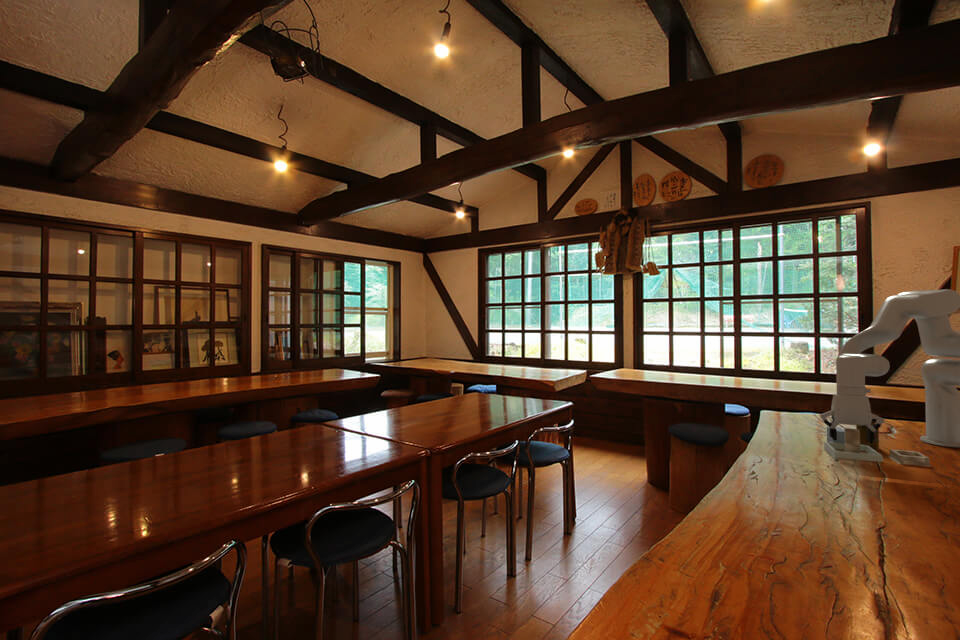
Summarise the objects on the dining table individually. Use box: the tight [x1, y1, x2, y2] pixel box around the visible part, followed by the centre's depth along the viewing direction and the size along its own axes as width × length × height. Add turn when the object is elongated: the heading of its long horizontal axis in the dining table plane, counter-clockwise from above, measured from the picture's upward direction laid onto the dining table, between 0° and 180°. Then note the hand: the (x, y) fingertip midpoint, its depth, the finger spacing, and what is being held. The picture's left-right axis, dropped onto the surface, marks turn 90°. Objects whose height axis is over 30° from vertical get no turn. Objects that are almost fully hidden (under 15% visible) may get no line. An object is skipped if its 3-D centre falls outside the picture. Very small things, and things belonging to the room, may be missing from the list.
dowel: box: [844, 427, 861, 453], centre depth 149 cm, size 4×4×9 cm
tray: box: [823, 441, 884, 463], centre depth 150 cm, size 12×12×3 cm
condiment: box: [855, 418, 880, 451], centre depth 156 cm, size 7×8×12 cm
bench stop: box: [826, 425, 845, 443], centre depth 160 cm, size 4×7×7 cm, turn 155°
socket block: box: [887, 449, 932, 468], centre depth 141 cm, size 8×8×4 cm
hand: (851, 440), depth 150 cm, fingers open, 9 cm apart
